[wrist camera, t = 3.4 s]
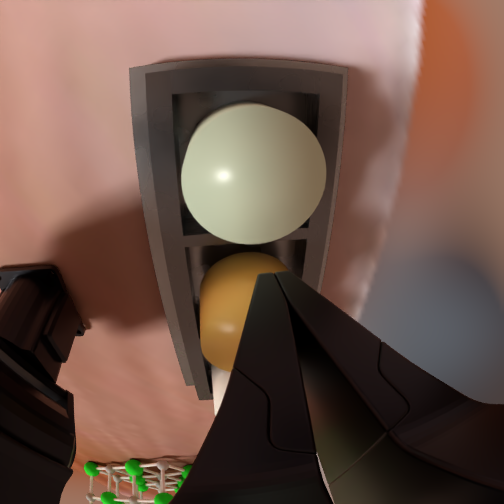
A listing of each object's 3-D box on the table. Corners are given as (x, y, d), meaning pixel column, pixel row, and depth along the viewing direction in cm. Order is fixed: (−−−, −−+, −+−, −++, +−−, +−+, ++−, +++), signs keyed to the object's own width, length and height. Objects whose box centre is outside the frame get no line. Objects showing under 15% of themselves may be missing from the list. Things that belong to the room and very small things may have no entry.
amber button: (204, 326, 17) (206, 377, 14) (194, 255, 14) (193, 307, 11) (288, 318, 17) (303, 366, 14) (296, 248, 15) (319, 295, 12)
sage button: (191, 208, 14) (188, 248, 11) (184, 103, 11) (176, 110, 8) (294, 203, 14) (318, 239, 11) (300, 102, 12) (332, 110, 9)
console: (186, 371, 24) (186, 403, 21) (136, 69, 11) (117, 66, 8) (297, 360, 25) (307, 390, 22) (335, 68, 12) (366, 67, 10)
